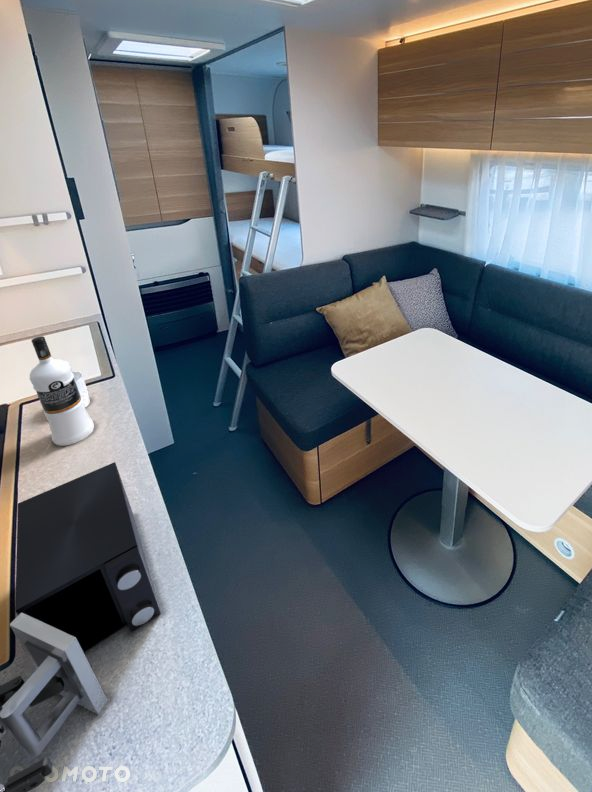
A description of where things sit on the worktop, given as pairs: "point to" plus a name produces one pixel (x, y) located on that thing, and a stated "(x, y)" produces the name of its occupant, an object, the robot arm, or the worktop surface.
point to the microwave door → (49, 658)
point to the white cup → (81, 387)
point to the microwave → (83, 560)
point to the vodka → (59, 397)
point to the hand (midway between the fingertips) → (56, 721)
